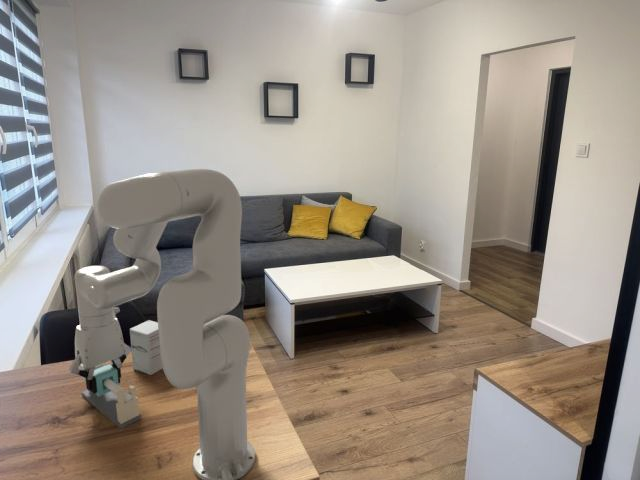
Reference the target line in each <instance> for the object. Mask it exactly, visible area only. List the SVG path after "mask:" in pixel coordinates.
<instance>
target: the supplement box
mask: <svg viewBox="0 0 640 480" xmlns="http://www.w3.org/2000/svg"><path fill="white" fill-rule="evenodd" d="M129 336H130V337H129V338H130V347H131V348H132V351H131V360H132V369H133V370H135V371H139V372H141V373H145V374H147V375H149V376H152V375H154V374H155V373H158V372H159V371H160V370H163V368H162V363H161V357H160V345H159V331H158V321H153V320H150V319H148V320H146V321H144V322H141V323H140V324H138V325H135V326H133V327H131V328H129Z"/></svg>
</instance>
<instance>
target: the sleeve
mask: <svg viewBox="0 0 640 480" xmlns="http://www.w3.org/2000/svg"><path fill="white" fill-rule="evenodd" d="M111 365H112V364H107V365H106V364H105V365H102V367H101V368H98V369H96V370H94V375H93V377H94V378H95V379H96V386H97V393H95V394H96V395H97V396H101V395H103V394H106V393H108V392H110V391H111V390H110V389H108V388H107V387H106V386H104V385H103V384H102V380H104V379H106V378H109V379H110V380H112V381H113V382H114V383H116V384H117V385H119V384H120V383H118V373H117V369H116V368H114V367H113V366H111ZM119 386H120V385H119ZM111 392H112V391H111Z"/></svg>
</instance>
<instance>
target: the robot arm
mask: <svg viewBox="0 0 640 480" xmlns="http://www.w3.org/2000/svg"><path fill="white" fill-rule="evenodd" d="M242 207H243V206H242V199H241V197H240V193H239V191H238V189H237V187H236V185H235V184H234V181H232V180H231V179H230V178H229V177H228V176H227V175H225V174H224V173H222V172H220V171H218V170H212V169H206V168H192V169H182V170H172V171H160V172H151V173H146V174H141V175H138V176H134V177H130V178H126V179H123V180H118V181H114V182H112V183H109V184H107V185H106V186H105V187H104V188H103V189H102V191H101V192H100V195H99V197H98V200H97V211H98V214H99V217H100V219H101V221H102V222H103V223H104V225H106V226H108V227H110V228H112V229H115V231H114V233H113V236H112V241H113V246H115V248H116V250H118V252H119V253H121V254H122V255H124V256H125V257H129V258H132V259H135V261H134V263H133V264H132V266H129V267H124V268H121V269H118V270H114V271H110V269H109V268H108V267H107V266H104V265H89V266H85V267H81V268H79V269H78V270H76V271H75V273H74V276H73V277H74V284H75V285H74V286H75V293H76V294H75V295H76V301H77V302H76V303H77V311H78V319H79V325H76V328H75V335H74V355H75V356H74V357H75V358H74V359H73V361H72V363H71V365H70V367H69V368H68V371H69V372H70V373H71V374H74V375H77V376H80V377H81V378H82V377H84V378H86V382H85V387H86V390H89V391H91V392H92V393H94V394H95V393H97V386H96V379H95V378H94V377H93V375H94V370H95V366H98V365H101V364H102V365H103V364H105V363H106V364H107V363H108V362H111V364H110V365H111V366H113V367H114V368H116V369H117V373H118V383H119V384H120V383H121V378H122V371H121V368H123V363H124V362H125V360H126V359H127V356H129V354H130V353H132V348H131V346H130V345H127V344H126V343H125V342H124V337H123V333H122V329H121V325H120V321H119V320H118V318H117V316H116V315H117V314H119V313H120V312H121V310H120V307H118V306H120V305H123V304H125V303H127V302H130V301H133V300H136V299H138V298H139V299H140V298H142V297H144V296H145V295H147V294H148V293H149V292H151V291H152V289H153V288H154V286H155V284H156V282H157V280H158V278H159V277H160V274H161V270H162V260H161V255H160V253H159V251H158V249H157V245H158V243H159V241H160V239H161V237H162V235H163V233H164V231H165V229H166V227H167V224H168V223H169V222H172V221H178V220H183V219H188V218H192V217H198V216H199V217H201V221H200V222H199V224H198V226H197V228H196V230H195V234H194V237H193V242H192V256H193V257H192V260H193V261H192V268H191V270H190V271H189V272H186V273H183V274H179V275H178V276H174V277H173V278H171V279H169V280H168V281H166V283H164V285H163V286H162V288H161V290H159V294H158V297H157V302H156V311H157V312H156V314H157V315H156V316H157V323H158V331H159V345H160V357H161V363H162V371H163V373H164V375H165V378H166V380H168V382H169V383H170V384H171V385H172V386H173V387H175V388H177V389H179V390H190V389H193V388H196V392H197V393H196V397H197V398H196V399H197V401H196V402H197V416H198V434H199V435H198V438H199V448H198V449H197V450H196V452H195V453H194V455H193V457H192V469H193V471H194V474H195V475H196V476H197V477H198V478H199V479H201V480H238V479H240V478H242V477H244V476H245V475H247V473H249V471H251V469H252V467H253V466H254V464H255V461H256V451H255V447H254V446H253V445H252V443H251V442H250V441H248V419H247V417H248V415H247V366H248V361H249V360H248V359H249V355H250V350H251V349H250V348H251V338H250V337H251V336H250V332H249V329H248V327H247V325H246V324H245V322H244V321H243V320H242V319H241V318H239V317H237V316H235V315H231V314H227V313H230V312H231V311H232V310H233V309H235V308H236V307H237V306H238V305H239V304H240V301H241V298H242V269H241V268H242V257H241V256H242V255H241V230H242V219H243V217H242V216H243V208H242ZM82 364H83V367H84V370H82V369H81V368H80V367H81V365H82Z"/></svg>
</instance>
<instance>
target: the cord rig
mask: <svg viewBox="0 0 640 480" xmlns="http://www.w3.org/2000/svg"><path fill="white" fill-rule="evenodd" d="M101 367H103V364H101V365H98V366H95V370H96V369H98V368H101ZM80 369H82V370H84V367H83V364H82V363H81V364H80ZM81 379H82V381H84V382H85V383H86V378H84V377H82V376H81ZM102 384H103V385H104V386H106V387H107V388H108V389H110V390H111V391H110V392H108V393H106V394H103V395H101V396H97V395H96V394H94V393H92V392H91V391H89V390H88V389H86V390H84V391H82V392H81V397H83V398H84V399H85V400H87V401H88V402H89V403H91V405H92V406H94V407H95V408H96V409H97V410H98V411H99V412H101V413H102V414H103V415H104V416H105V417H106V418H107V419H108V420H110V421H111V422H112V423H113V424H114V425H116V426H117V427H118V429H123V428H125V427H127V426H130V425H131V424H134V423H135V422H137V421H139V420H141V419H142V414H141V413H140V408H139V397H138V396H137V395H136V387H135V386H133V385H132V384H130V385H128V387H127V389H128V391H127V390H125V389H124V388H123V387H121V386H120V385H117V384H116V383H114V382H113V381H112V380H110V379H109V378H106V379H104V380H102Z"/></svg>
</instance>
